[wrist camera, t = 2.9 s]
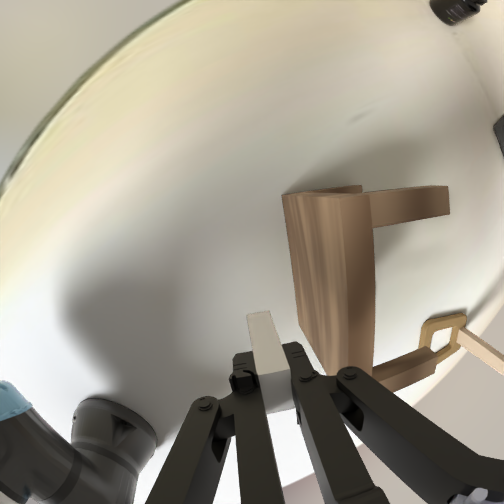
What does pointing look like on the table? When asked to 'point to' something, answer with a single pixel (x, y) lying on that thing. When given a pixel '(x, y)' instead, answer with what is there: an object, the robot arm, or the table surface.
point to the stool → (351, 273)
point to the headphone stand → (460, 340)
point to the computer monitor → (500, 132)
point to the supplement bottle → (455, 9)
